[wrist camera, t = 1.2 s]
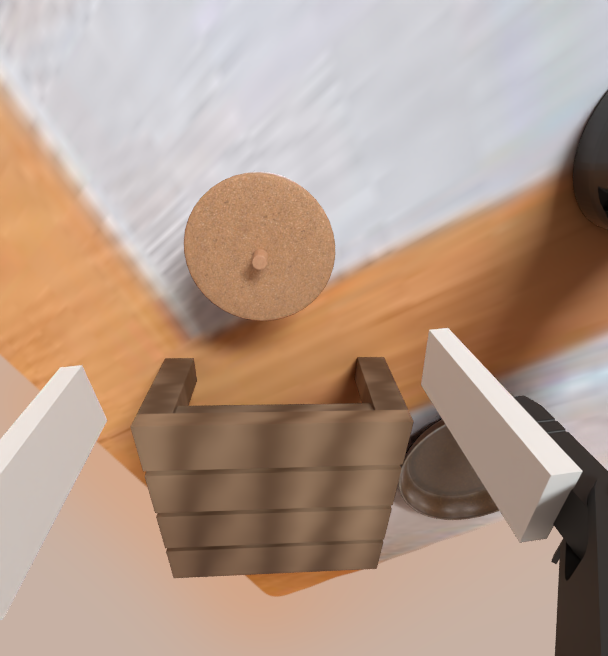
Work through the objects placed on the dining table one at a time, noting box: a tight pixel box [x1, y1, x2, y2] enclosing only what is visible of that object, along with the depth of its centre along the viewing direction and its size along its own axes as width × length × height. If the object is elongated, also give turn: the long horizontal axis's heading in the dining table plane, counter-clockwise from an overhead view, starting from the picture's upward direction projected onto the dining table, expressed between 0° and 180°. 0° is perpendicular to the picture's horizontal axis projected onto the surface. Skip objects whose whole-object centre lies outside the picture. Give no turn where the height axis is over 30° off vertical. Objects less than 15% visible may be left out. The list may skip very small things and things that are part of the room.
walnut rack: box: [131, 357, 413, 578], centre depth 40 cm, size 24×24×10 cm
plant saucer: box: [399, 419, 499, 520], centre depth 47 cm, size 21×21×3 cm
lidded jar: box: [184, 172, 335, 321], centre depth 27 cm, size 11×11×9 cm
